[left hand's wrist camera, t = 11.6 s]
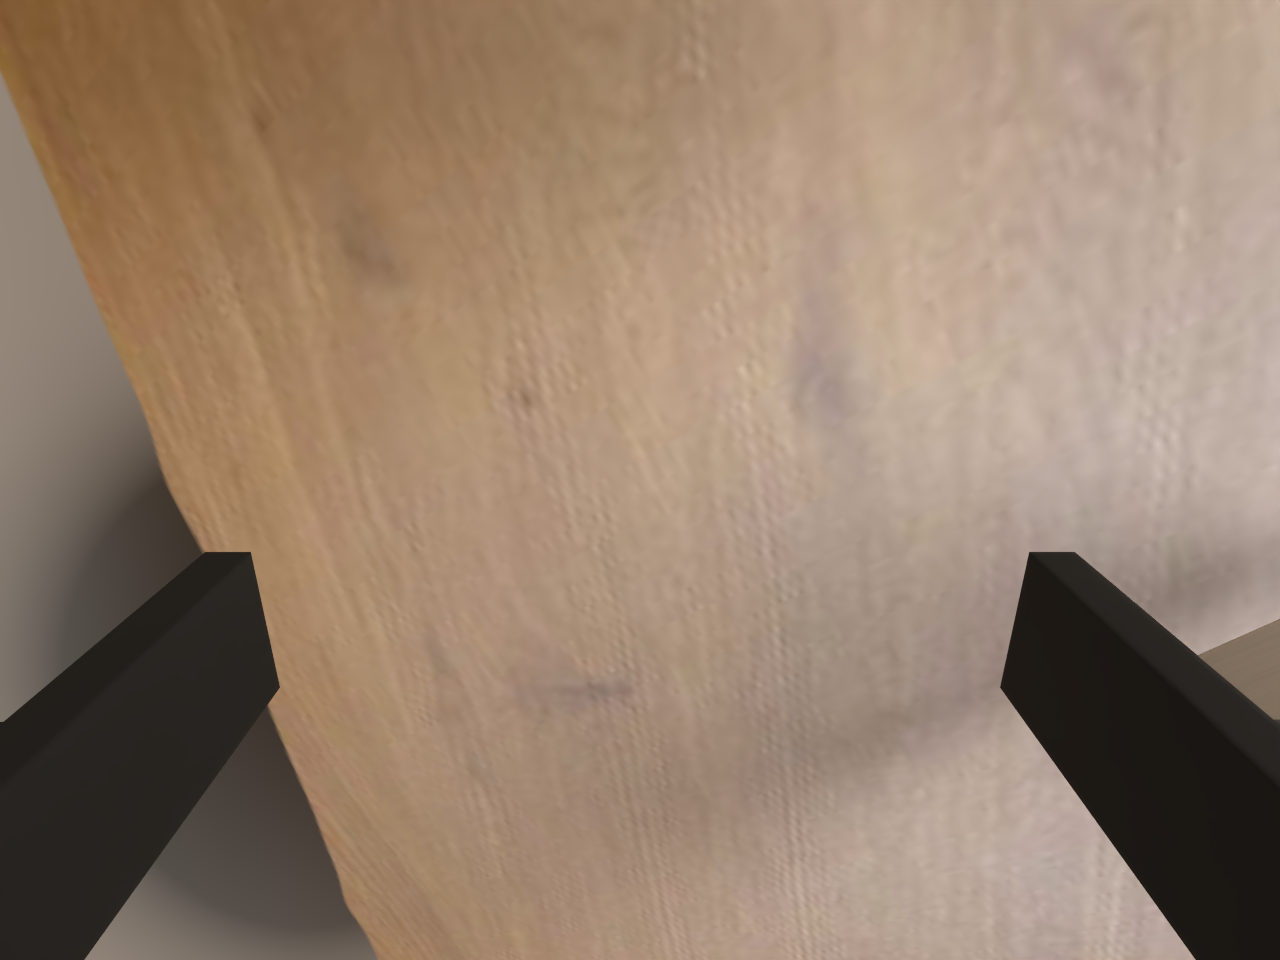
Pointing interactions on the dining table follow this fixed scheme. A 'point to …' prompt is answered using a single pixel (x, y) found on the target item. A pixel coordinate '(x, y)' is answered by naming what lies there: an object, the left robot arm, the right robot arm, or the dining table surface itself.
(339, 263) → the dining table surface
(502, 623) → the dining table surface
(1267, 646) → the bar
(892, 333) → the dining table surface
